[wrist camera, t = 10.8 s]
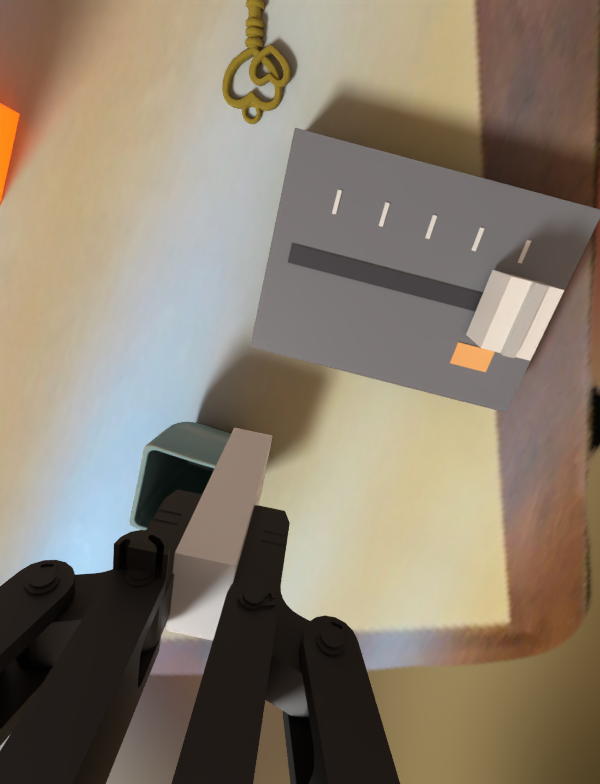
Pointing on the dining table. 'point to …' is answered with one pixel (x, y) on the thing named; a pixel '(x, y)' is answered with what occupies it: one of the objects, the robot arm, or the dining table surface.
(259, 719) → the robot arm
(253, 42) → the key
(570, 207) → the dimmer console
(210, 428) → the flower pot
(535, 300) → the slider cap
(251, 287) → the dining table surface
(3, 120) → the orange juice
